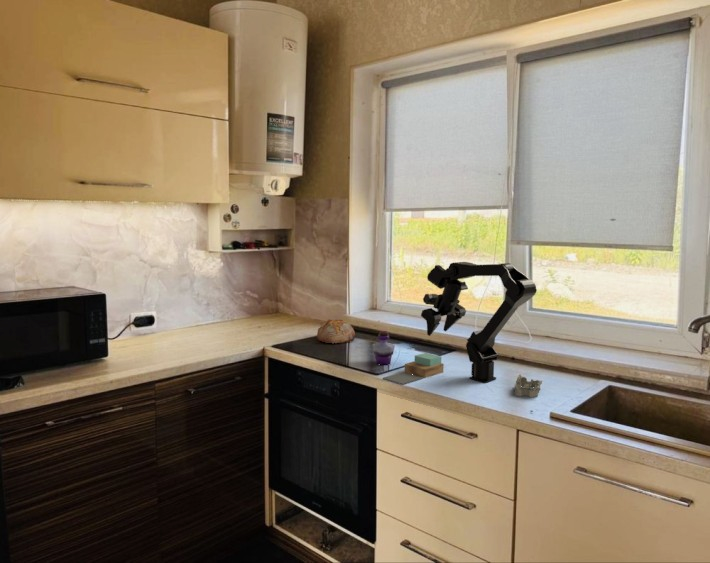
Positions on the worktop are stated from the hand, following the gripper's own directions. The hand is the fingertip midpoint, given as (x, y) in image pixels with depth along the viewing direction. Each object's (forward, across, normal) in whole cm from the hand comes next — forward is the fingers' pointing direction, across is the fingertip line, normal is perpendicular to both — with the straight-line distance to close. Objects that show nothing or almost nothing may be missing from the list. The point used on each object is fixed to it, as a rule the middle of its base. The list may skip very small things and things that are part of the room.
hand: (436, 332), depth 197 cm
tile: (+6, +8, +5) cm, 11 cm away
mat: (+10, +21, +7) cm, 24 cm away
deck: (+10, +10, +7) cm, 16 cm away
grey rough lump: (-3, +3, +40) cm, 40 cm away
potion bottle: (+17, +12, -9) cm, 23 cm away
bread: (+33, -1, -47) cm, 57 cm away
